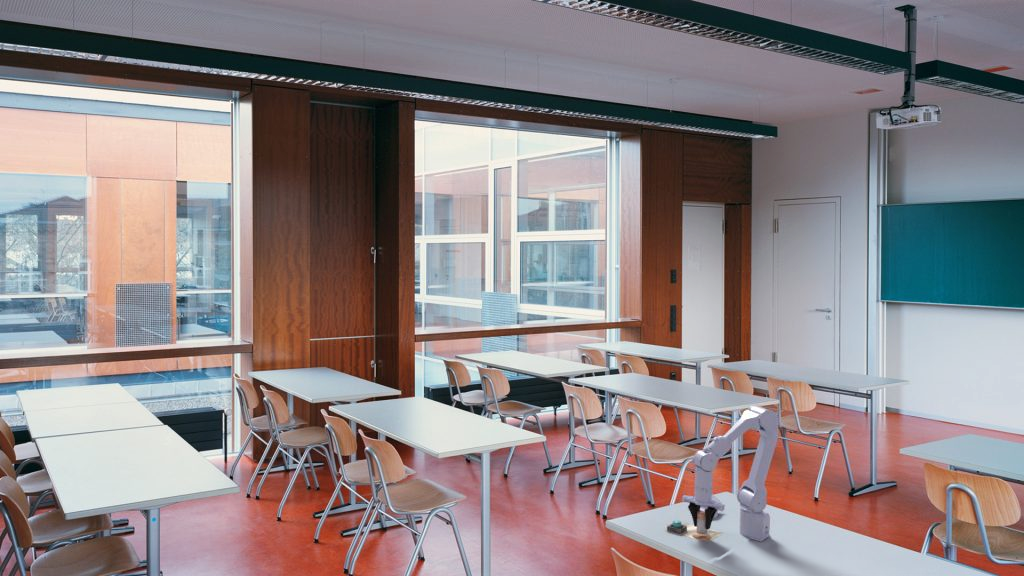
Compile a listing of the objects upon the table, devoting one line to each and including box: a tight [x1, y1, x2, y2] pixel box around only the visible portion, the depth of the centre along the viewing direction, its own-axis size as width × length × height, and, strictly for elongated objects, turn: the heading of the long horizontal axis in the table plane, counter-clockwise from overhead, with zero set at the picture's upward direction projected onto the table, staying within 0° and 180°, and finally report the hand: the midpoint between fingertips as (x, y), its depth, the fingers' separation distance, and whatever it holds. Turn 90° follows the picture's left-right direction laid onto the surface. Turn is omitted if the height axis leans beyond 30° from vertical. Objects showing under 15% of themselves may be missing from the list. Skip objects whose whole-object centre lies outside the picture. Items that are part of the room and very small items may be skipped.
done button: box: [672, 520, 683, 529], centre depth 273 cm, size 3×3×2 cm
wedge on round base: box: [700, 493, 723, 519], centre depth 293 cm, size 9×7×13 cm
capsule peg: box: [697, 511, 708, 535], centre depth 268 cm, size 4×4×7 cm
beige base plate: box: [665, 521, 724, 543], centre depth 273 cm, size 18×14×2 cm
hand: (702, 527), depth 268 cm, fingers closed on capsule peg, 4 cm apart
